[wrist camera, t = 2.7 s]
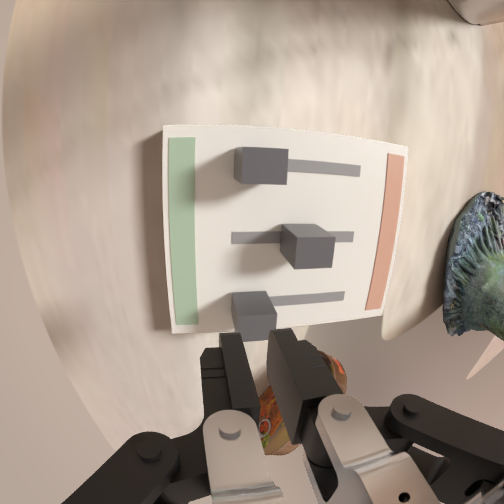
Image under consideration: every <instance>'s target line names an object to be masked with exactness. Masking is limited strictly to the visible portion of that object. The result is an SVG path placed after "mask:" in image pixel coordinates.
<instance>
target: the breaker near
mask: <svg viewBox="0 0 504 504" xmlns="http://www.w3.org/2000/svg"><path fill="white" fill-rule="evenodd" d="M288 151H289V149H281V148H264V147H236V148H235V157H234V179H235V180H237V181H238V182H239V183H241V184H271V185H287V171H288Z"/></svg>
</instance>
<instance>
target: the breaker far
mask: <svg viewBox="0 0 504 504" xmlns="http://www.w3.org/2000/svg"><path fill="white" fill-rule="evenodd" d="M232 320H233V324H234V329H235V332H240V333H241V337H242V341H243V342H247V341H260V340H268V339H269V332H270V330H275V329H276V324H277V312H276V310H275V308H274V306H273V304H272V302H271V300H270V298H269V296H268V294H267V292H266V291H250V292H232Z"/></svg>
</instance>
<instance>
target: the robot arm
mask: <svg viewBox="0 0 504 504" xmlns="http://www.w3.org/2000/svg"><path fill="white" fill-rule="evenodd" d="M448 1H449V2H450V4H451V5H452V7H453V8H454V9H455V10H456V12H457V13H458V14H459V15H460V16H461V17H462V18H464V19H465V20H466V21H468V22H469V23H471V24H475V25H476V24H480V25H482V26H484V25H489V24H494V23H499V22H504V0H448ZM200 365H201V379H202V392H203V404H204V419H203V421H202V423H201V425H200V426H199V427H198V428H197V429H196V430H194V431H193V432H191V433H189V434H187V435H184V436H180V437H177V438H173V439H170V438H169V437H167V436H166V435H163V434H161V433H157V432H142V433H138V434H136V435H134V436H132V437H131V438H130V439H128V440H127V441H126V442H125V443H124V444H123V445H122V446H121V447H120V448H119V449H118V450H117V451H116V452H115V453H114V454H113V455H112V456H111V457H110V458H109V459H108V460H107V461H106V462H105V463H104V464H103V465H102V466H101V467H100V468H99V469H98V470H97V471H96V472H95V473H94V474H93V475H92V476H91V477H90V478H89V479H87V480H86V481H85V482H84V483H83V484H82V485H81V486H80V487H79V488H78V489H77V490H76V491H75V492H74V493H73V494H72V495H71V496H69V497H68V498H67V499H66V500H65V501H64V502H63V503H62V504H188V503H189V502H190V501H193V500H196V499H200V498H203V497H205V496H209V495H211V497H212V504H286V501H285V498H284V495H283V493H282V491H281V489H280V488H279V487H278V486H275V484H274V482H273V479H272V476H271V473H270V470H269V466H268V463H267V460H266V457H265V453H264V450H263V446H262V443H261V439H260V436H259V432H258V430H259V419H260V408H261V406H260V402H259V399H258V395H257V392H256V388H255V384H254V381H253V377H252V374H251V370H250V367H249V363H248V359H247V356H246V352H245V348H244V344H243V341H242V337H241V333H240V332H234V333H219V347H217V348H205V350H204V352H203V353H202V355H201V357H200ZM267 374H268V378H269V381H270V384H271V387H272V390H273V393H274V396H275V399H276V402H277V405H278V407H279V410H280V413H281V416H282V419H283V422H284V424H285V427H286V430H287V433H288V436H289V438H290V441H291V444H292V445H296V444H301V443H302V445H303V447H304V450H305V452H304V455H303V462H304V465H305V468H306V471H307V473H308V476H309V479H310V481H311V484H312V487H313V490H314V492H315V495H316V498H317V501H318V503H319V504H440V502H442V503H445V504H504V431H502V430H499V429H497V428H494V427H491V426H489V425H486V424H484V423H481V422H479V421H476V420H473V419H471V418H469V417H466V416H463V415H461V414H459V413H456V412H454V411H451V410H449V409H447V408H444V407H442V406H440V405H437V404H435V403H433V402H430V401H428V400H426V399H424V398H421V397H419V396H417V395H413V394H403V395H400V396H398V397H396V398H395V399H394V400H393V401H392V403H391V405H390V407H365V406H363V405H362V403H361V402H360V401H359V400H357V399H356V398H354V397H352V396H349V395H345V394H344V393H343V392H342V390H341V388H340V387H339V385H338V383H337V382H336V380H335V378H334V377H333V375H332V373H331V372H330V370H329V368H328V367H326V363H325V362H324V360H323V359H322V357H321V355H320V353H319V352H318V350H317V348H316V347H315V346H313V345H312V344H311V343H309V342H308V341H306V340H301V341H298V340H297V338H296V336H295V334H294V332H293V330H292V329H291V328H286V329H275V330H270V332H269V339H268V351H267ZM413 443H416V444H418V445H420V446H423V447H425V448H427V449H429V450H431V451H434V452H436V453H439V454H441V455H443V456H444V457H436V456H433V455H431V454H429V453H426V452H424V451H422V450H420V449H418V448H416V447H413V446H412V445H413ZM439 501H440V502H439Z"/></svg>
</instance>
